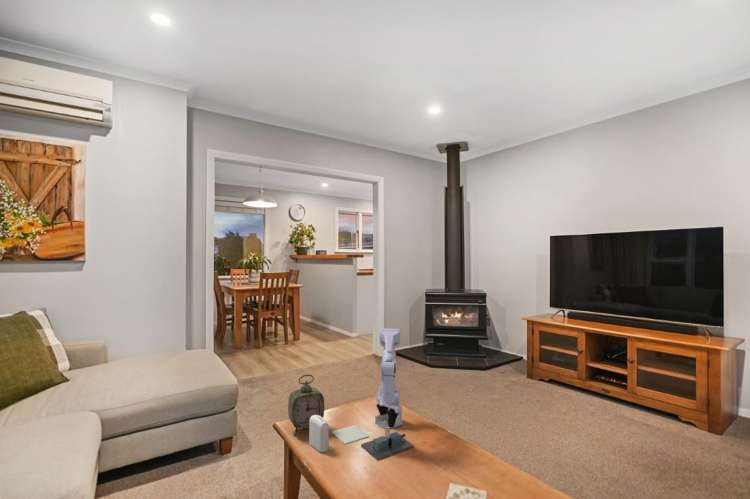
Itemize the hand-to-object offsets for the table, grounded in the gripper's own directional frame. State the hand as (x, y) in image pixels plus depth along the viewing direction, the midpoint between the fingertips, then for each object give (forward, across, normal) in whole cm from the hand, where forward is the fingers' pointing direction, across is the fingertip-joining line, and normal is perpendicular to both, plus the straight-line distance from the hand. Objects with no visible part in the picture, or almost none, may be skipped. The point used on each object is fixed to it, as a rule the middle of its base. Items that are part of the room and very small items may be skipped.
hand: (387, 424), depth 155 cm
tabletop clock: (+10, -31, -23) cm, 40 cm away
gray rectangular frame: (0, 0, 0) cm, 0 cm away
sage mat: (+10, -17, -8) cm, 21 cm away
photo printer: (+10, -15, -24) cm, 30 cm away
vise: (+10, 0, 0) cm, 10 cm away
